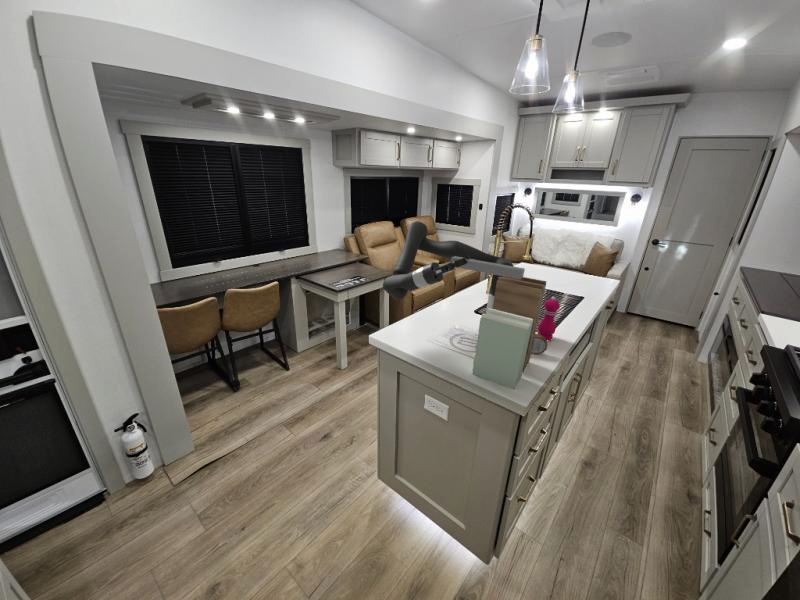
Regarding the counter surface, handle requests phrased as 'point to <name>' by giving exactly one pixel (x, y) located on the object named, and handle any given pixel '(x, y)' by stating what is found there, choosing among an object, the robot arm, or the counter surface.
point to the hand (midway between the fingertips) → (467, 259)
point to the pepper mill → (548, 319)
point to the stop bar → (492, 268)
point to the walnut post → (521, 302)
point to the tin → (539, 344)
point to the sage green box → (501, 347)
